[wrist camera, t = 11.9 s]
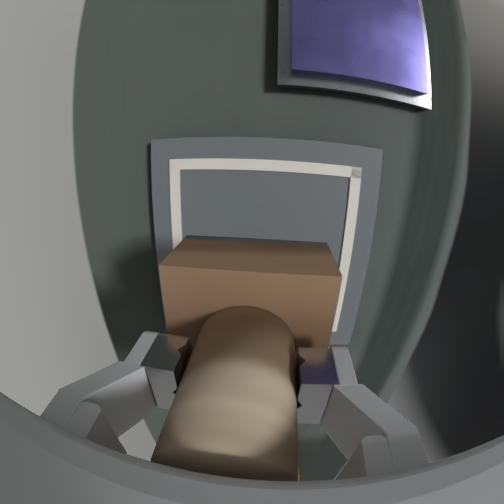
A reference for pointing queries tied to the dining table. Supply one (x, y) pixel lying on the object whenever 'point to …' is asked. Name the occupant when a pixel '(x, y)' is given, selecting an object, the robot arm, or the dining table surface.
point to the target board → (271, 200)
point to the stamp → (243, 350)
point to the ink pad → (356, 49)
